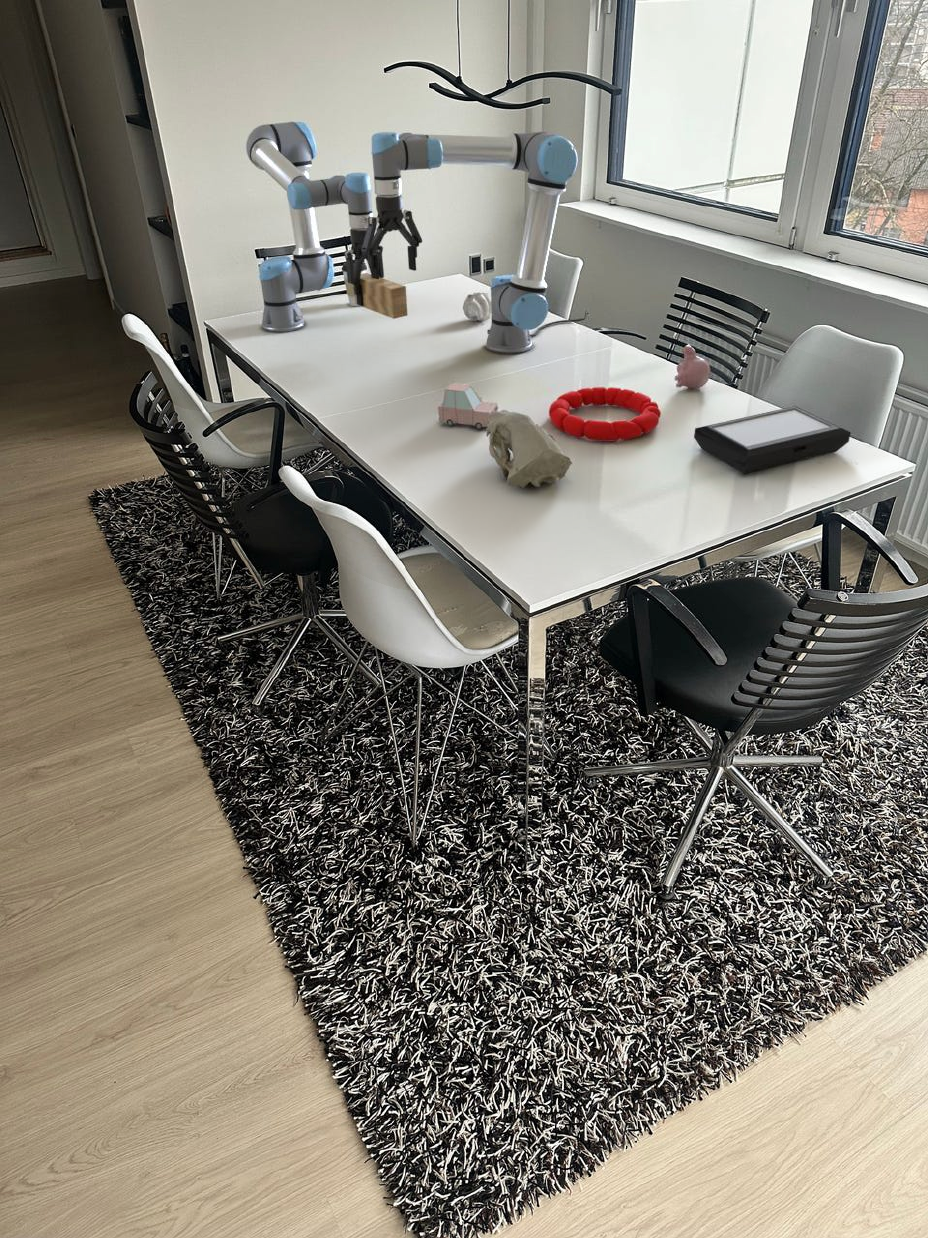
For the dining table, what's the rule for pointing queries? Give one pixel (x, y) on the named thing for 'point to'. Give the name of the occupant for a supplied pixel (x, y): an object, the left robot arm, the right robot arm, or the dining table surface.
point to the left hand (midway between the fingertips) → (367, 302)
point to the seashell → (477, 306)
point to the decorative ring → (604, 428)
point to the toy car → (465, 406)
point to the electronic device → (771, 439)
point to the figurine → (692, 370)
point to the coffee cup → (350, 286)
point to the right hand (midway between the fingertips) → (394, 273)
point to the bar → (383, 296)
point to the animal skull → (525, 450)
